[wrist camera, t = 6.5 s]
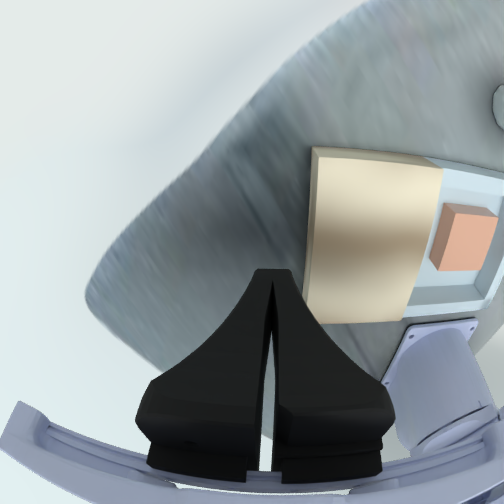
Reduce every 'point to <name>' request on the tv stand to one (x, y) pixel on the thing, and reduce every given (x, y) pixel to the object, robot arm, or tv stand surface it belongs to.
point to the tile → (462, 237)
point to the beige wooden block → (366, 232)
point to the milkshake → (499, 106)
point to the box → (462, 282)
